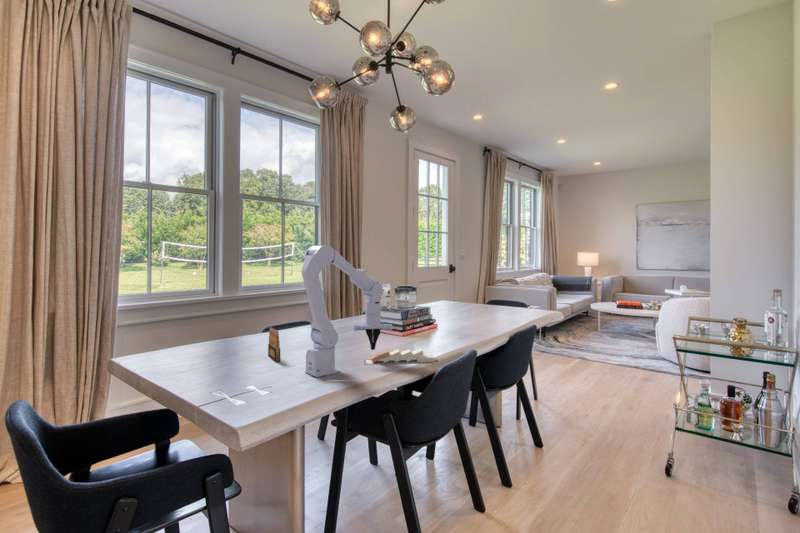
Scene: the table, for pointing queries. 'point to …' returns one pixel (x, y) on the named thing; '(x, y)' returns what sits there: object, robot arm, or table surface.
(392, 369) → the table surface
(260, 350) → the table surface
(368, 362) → the mat
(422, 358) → the domino
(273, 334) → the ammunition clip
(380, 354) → the domino placed
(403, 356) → the domino
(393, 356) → the domino
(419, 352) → the domino
